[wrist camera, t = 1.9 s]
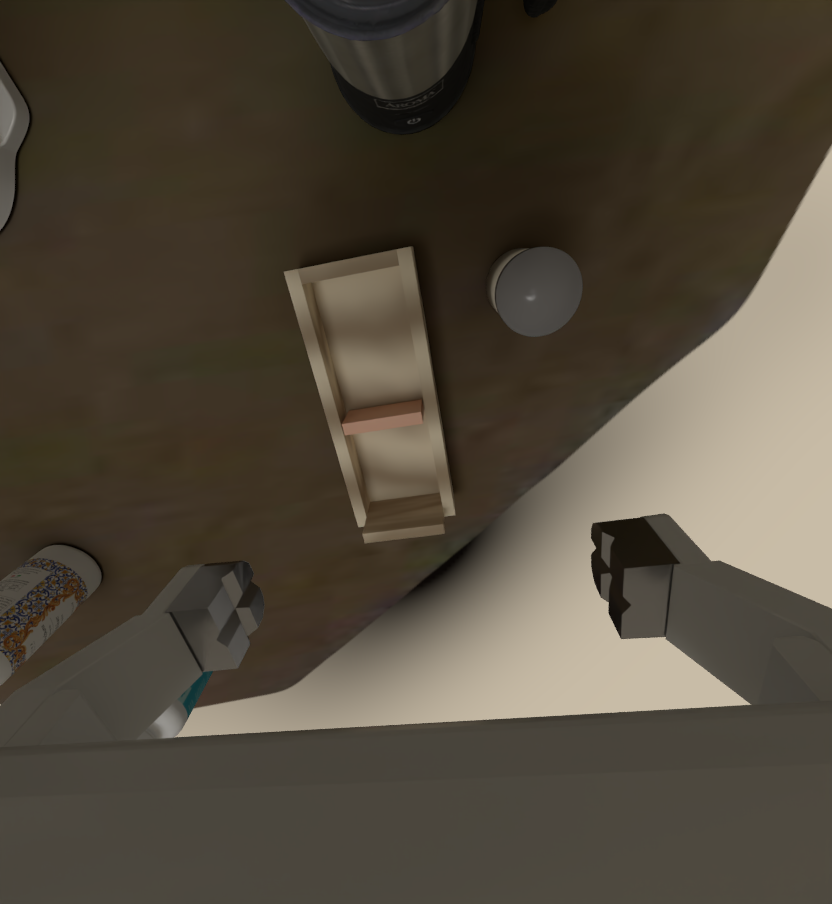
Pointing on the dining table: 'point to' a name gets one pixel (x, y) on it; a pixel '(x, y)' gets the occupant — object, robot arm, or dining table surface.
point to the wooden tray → (377, 388)
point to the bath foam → (41, 601)
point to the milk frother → (400, 54)
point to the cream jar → (534, 289)
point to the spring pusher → (383, 417)
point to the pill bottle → (176, 712)
